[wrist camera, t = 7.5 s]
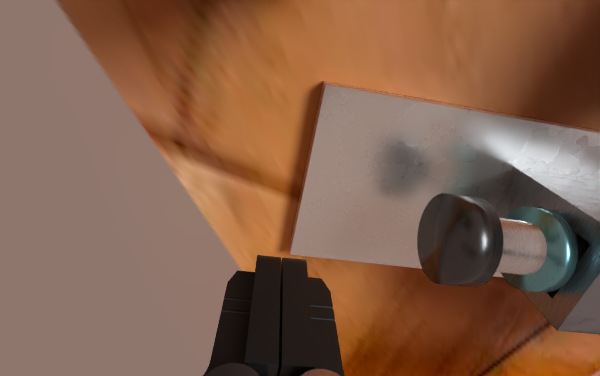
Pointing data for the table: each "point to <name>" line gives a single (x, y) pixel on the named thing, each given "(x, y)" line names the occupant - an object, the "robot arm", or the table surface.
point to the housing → (444, 183)
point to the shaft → (496, 244)
